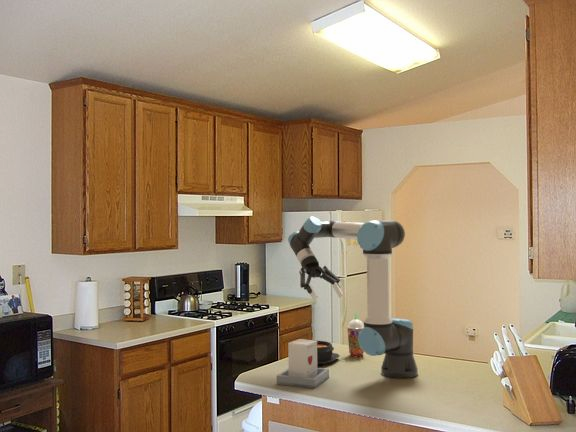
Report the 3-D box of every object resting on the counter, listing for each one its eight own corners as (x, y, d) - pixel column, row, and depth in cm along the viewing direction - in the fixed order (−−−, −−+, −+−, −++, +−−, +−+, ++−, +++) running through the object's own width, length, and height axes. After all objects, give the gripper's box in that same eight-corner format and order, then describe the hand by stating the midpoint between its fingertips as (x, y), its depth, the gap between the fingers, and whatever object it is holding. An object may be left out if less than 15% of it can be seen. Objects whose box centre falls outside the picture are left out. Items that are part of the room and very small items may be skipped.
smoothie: (347, 357, 279) (346, 314, 279) (348, 353, 287) (347, 311, 287) (365, 357, 278) (364, 315, 277) (365, 353, 286) (365, 312, 286)
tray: (329, 377, 246) (329, 369, 246) (315, 388, 231) (315, 379, 231) (292, 373, 252) (292, 365, 252) (276, 384, 237) (276, 375, 237)
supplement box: (307, 382, 235) (306, 344, 235) (288, 379, 240) (287, 342, 240) (318, 377, 243) (317, 340, 243) (299, 374, 248) (299, 338, 248)
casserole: (310, 371, 256) (309, 351, 256) (281, 363, 270) (281, 345, 270) (349, 360, 273) (348, 342, 273) (320, 354, 287) (320, 336, 287)
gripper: (326, 264, 278) (347, 299, 265) (281, 267, 264) (301, 305, 251) (333, 253, 273) (354, 288, 260) (287, 256, 260) (308, 294, 247)
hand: (328, 297), depth 256 cm, fingers open, 13 cm apart
